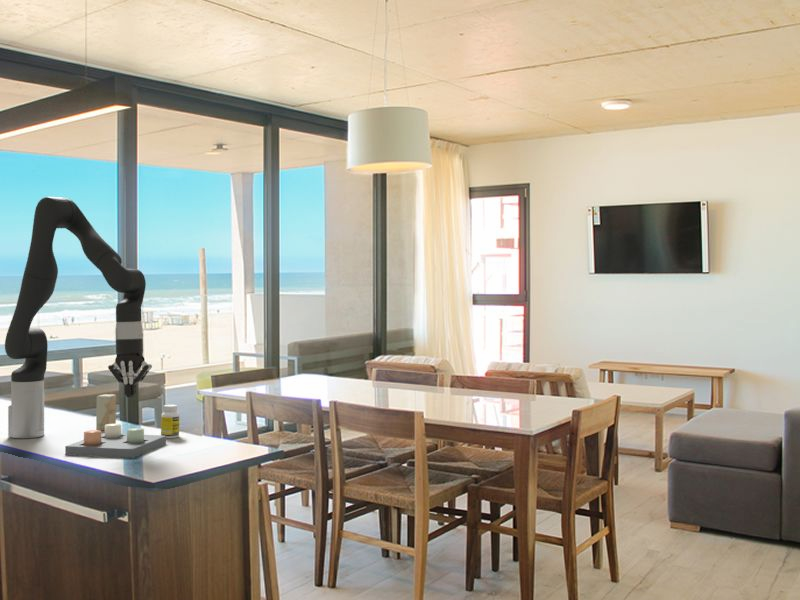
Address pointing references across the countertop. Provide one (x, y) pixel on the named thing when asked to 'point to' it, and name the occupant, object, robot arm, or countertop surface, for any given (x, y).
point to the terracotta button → (92, 438)
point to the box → (105, 411)
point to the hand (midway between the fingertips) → (130, 397)
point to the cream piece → (113, 431)
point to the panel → (116, 447)
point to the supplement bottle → (170, 422)
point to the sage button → (135, 435)
